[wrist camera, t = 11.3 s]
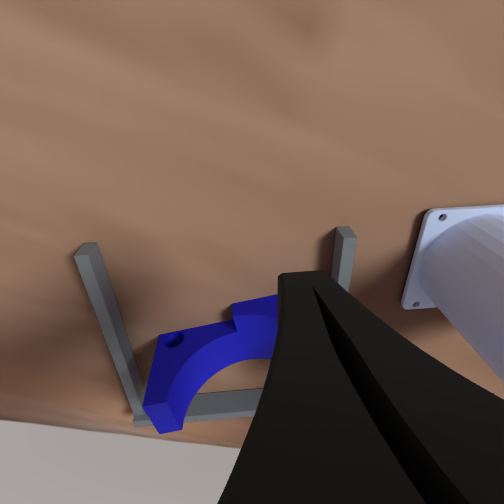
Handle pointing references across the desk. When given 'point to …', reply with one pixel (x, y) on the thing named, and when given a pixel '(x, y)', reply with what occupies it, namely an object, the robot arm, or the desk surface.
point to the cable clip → (205, 358)
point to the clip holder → (122, 354)
